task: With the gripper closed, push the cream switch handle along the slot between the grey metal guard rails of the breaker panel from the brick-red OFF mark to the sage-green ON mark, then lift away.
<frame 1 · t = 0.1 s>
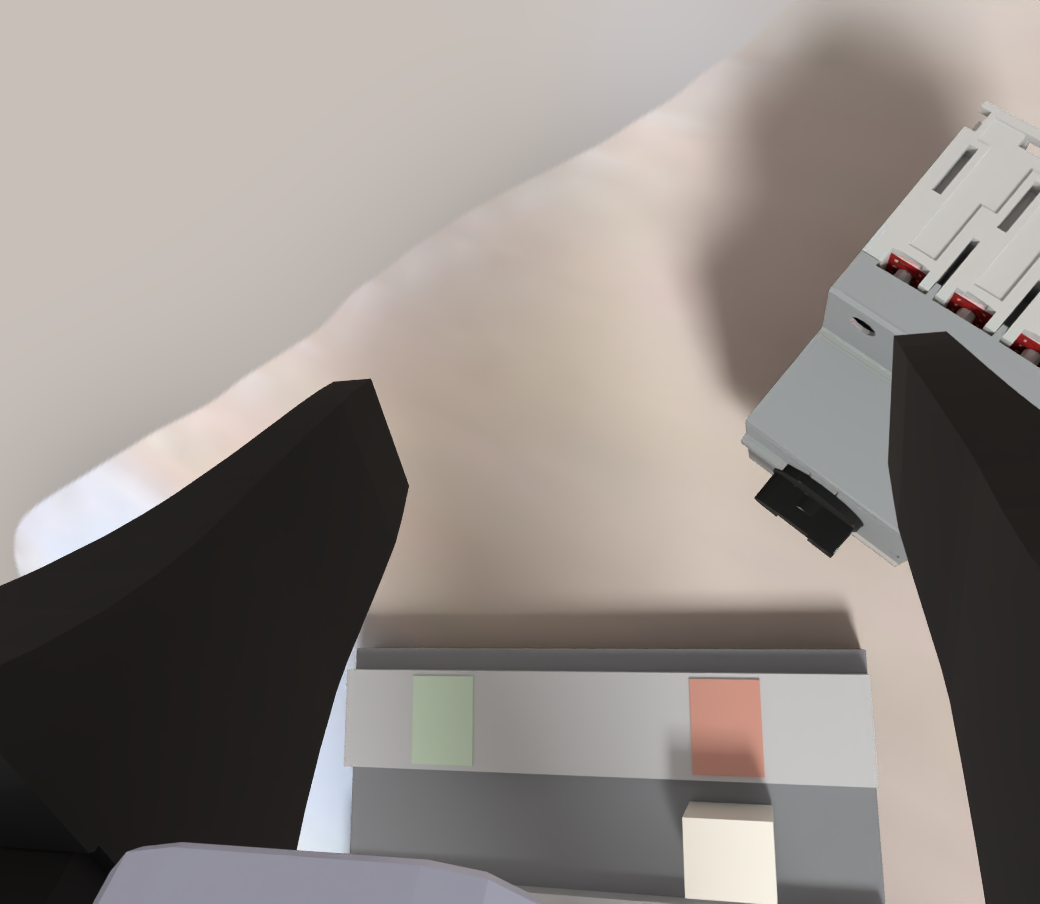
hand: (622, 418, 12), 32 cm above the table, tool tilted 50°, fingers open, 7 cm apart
circuit breaker: (888, 432, 42), on the table
breaker panel: (603, 822, 42), on the table
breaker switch: (730, 849, 37), point 4 cm above the table, slide at 0.0 cm
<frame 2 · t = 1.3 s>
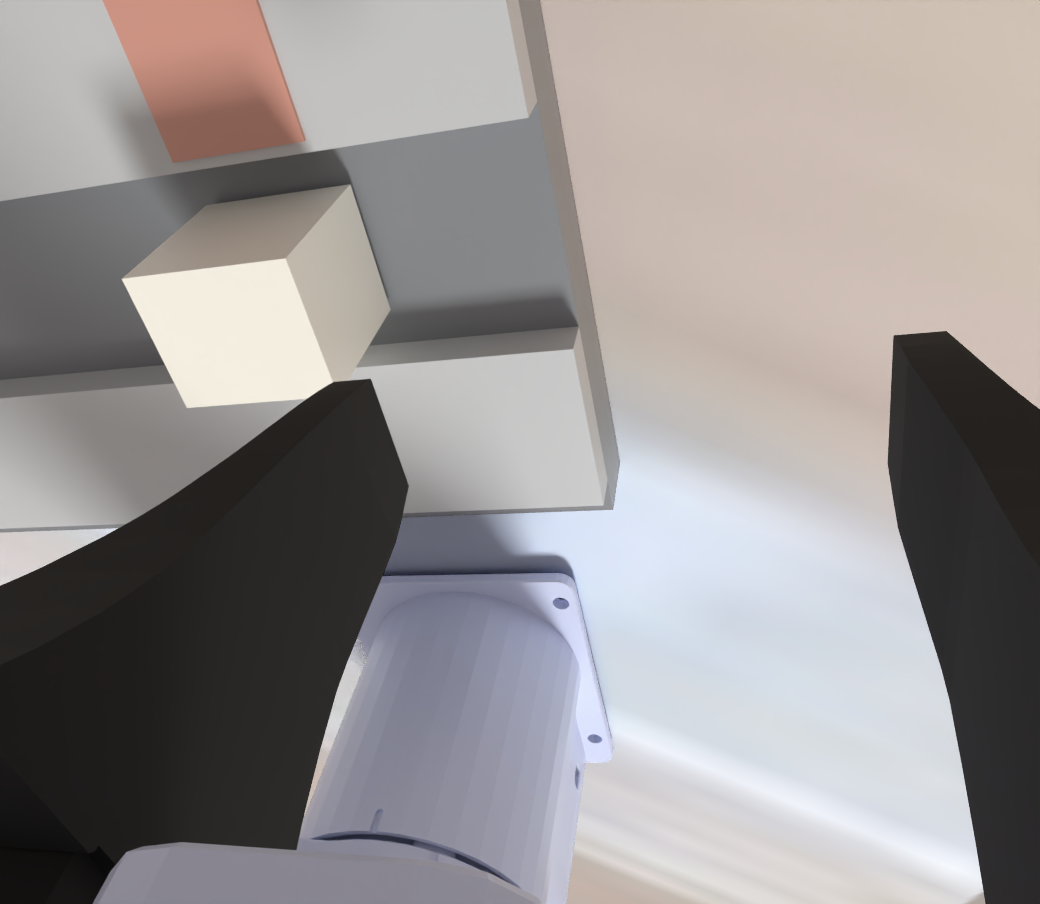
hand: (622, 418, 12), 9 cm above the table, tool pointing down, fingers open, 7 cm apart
breaker panel: (126, 247, 23), on the table
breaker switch: (268, 295, 19), point 4 cm above the table, slide at 0.0 cm
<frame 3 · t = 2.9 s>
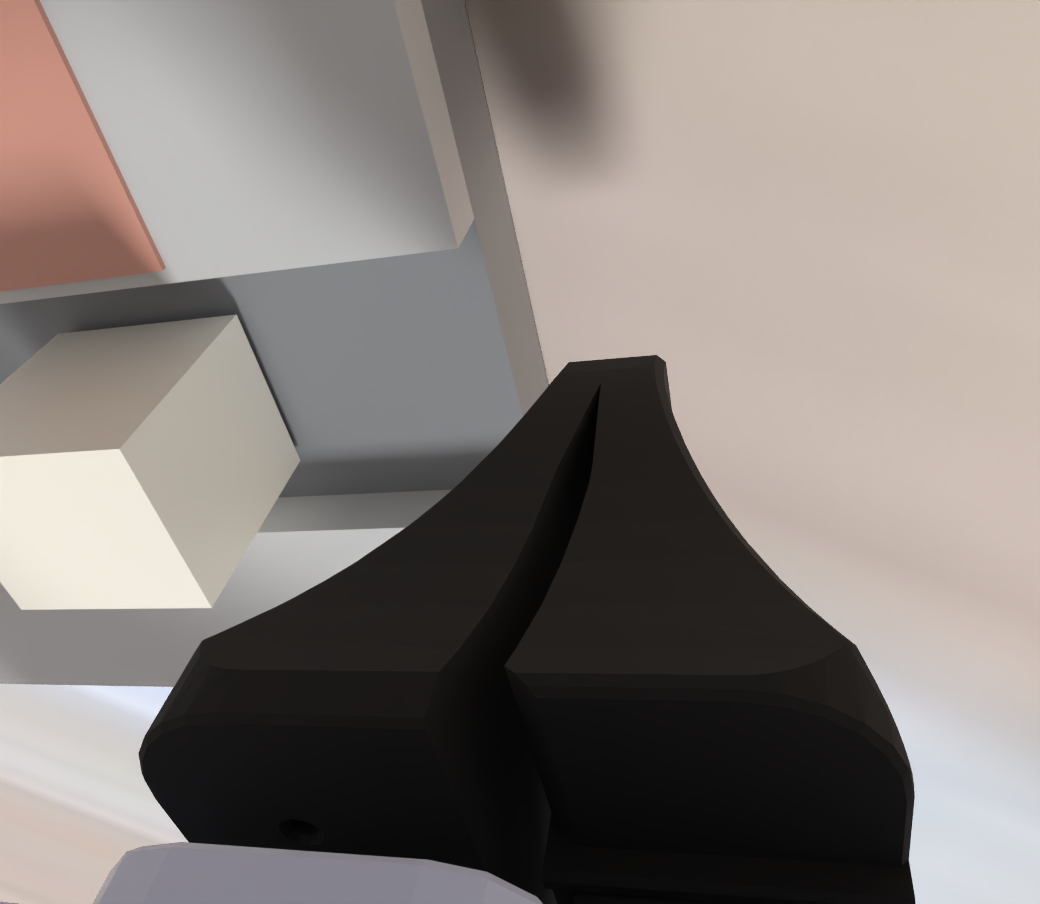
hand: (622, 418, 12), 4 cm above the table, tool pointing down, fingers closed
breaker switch: (129, 461, 14), point 4 cm above the table, slide at 0.0 cm
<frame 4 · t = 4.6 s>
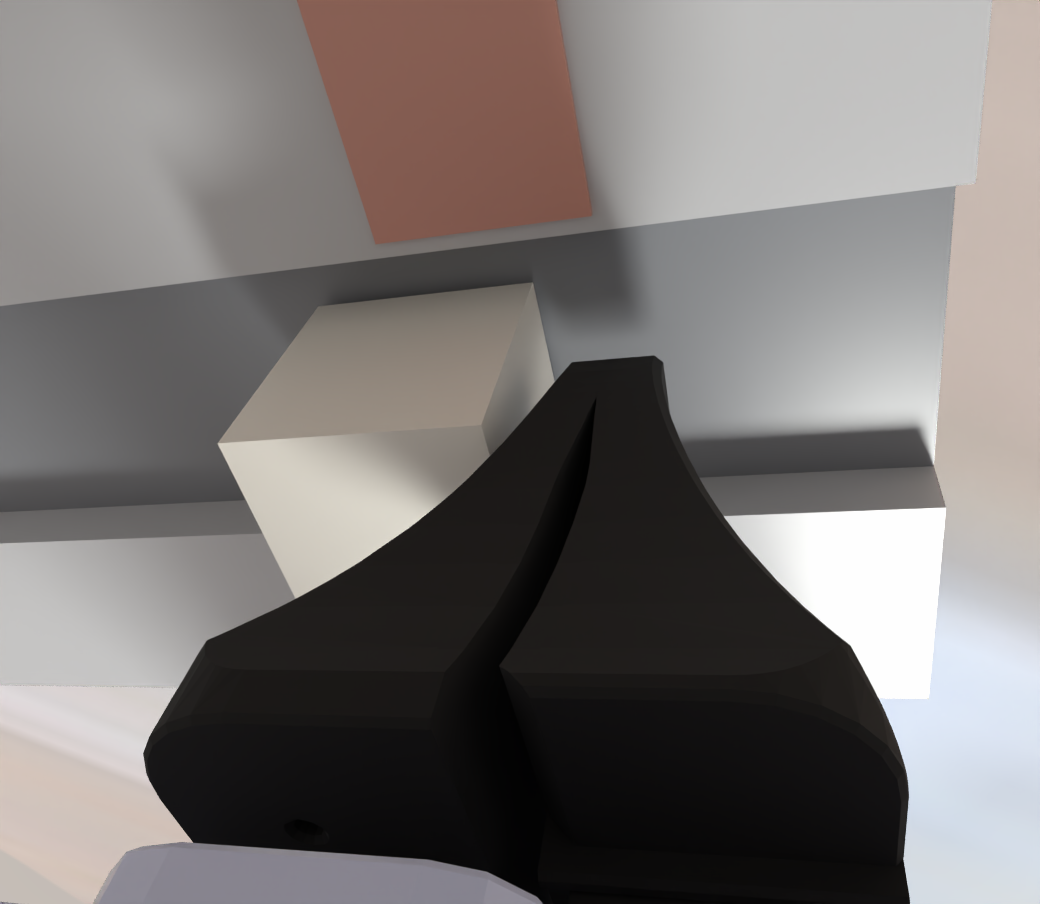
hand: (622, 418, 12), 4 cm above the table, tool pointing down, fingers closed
breaker panel: (253, 335, 17), on the table
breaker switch: (417, 444, 13), point 4 cm above the table, slide at 1.4 cm, touching gripper
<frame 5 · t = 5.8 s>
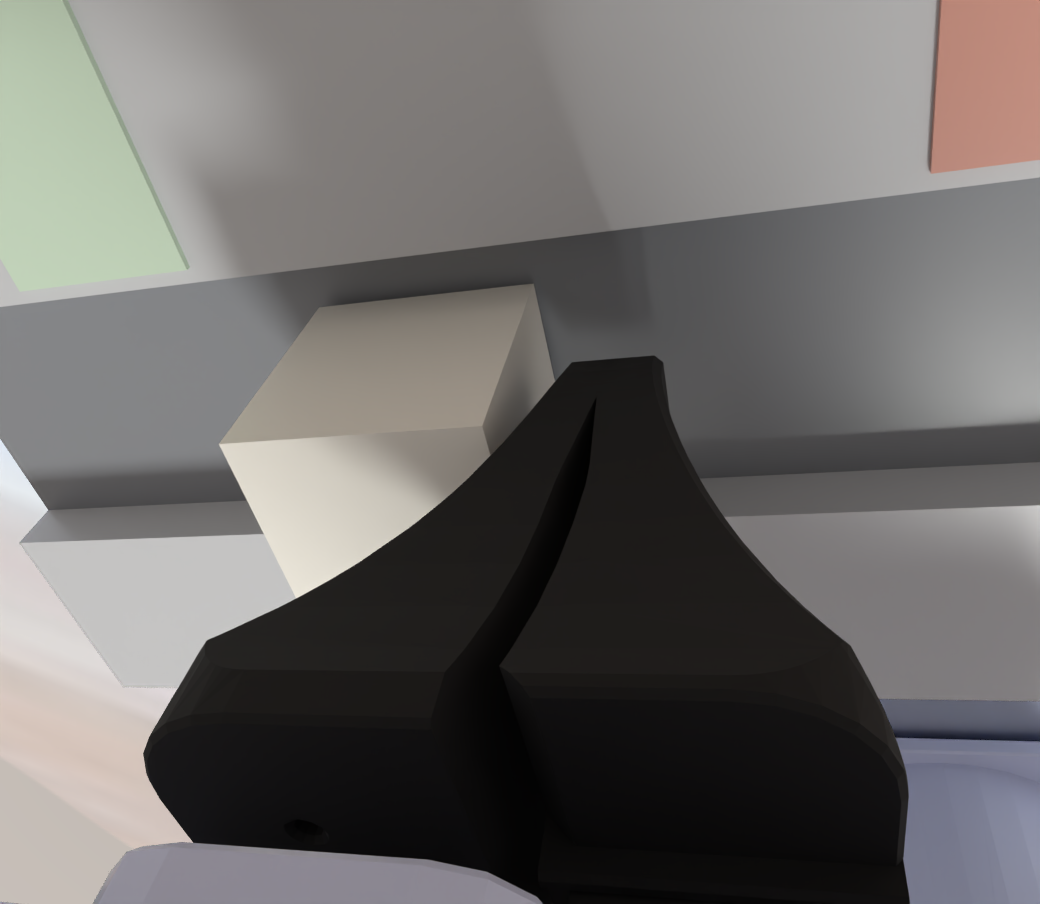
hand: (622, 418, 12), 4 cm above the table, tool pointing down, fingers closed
breaker panel: (609, 298, 15), on the table
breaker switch: (417, 445, 13), point 4 cm above the table, slide at 8.4 cm, touching gripper
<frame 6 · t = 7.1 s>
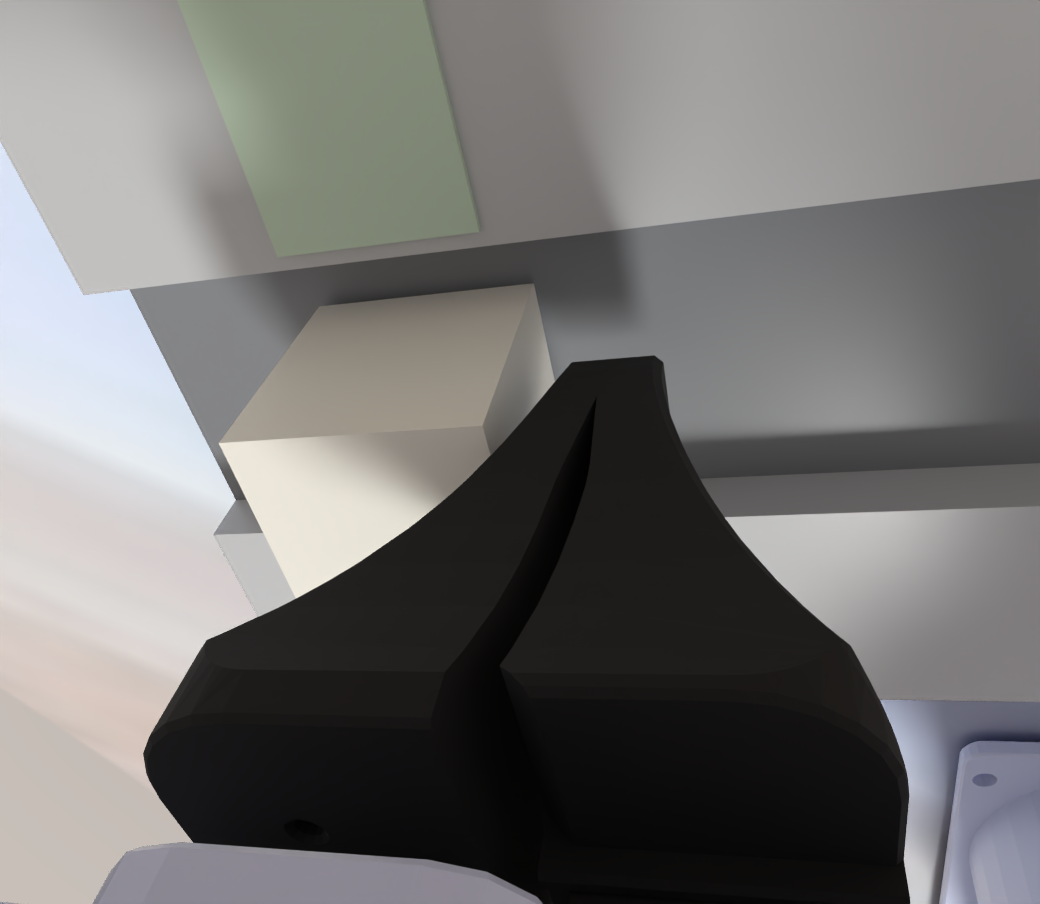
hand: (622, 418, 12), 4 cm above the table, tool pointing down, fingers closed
breaker panel: (884, 270, 14), on the table
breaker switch: (417, 444, 13), point 4 cm above the table, slide at 12.9 cm, touching gripper
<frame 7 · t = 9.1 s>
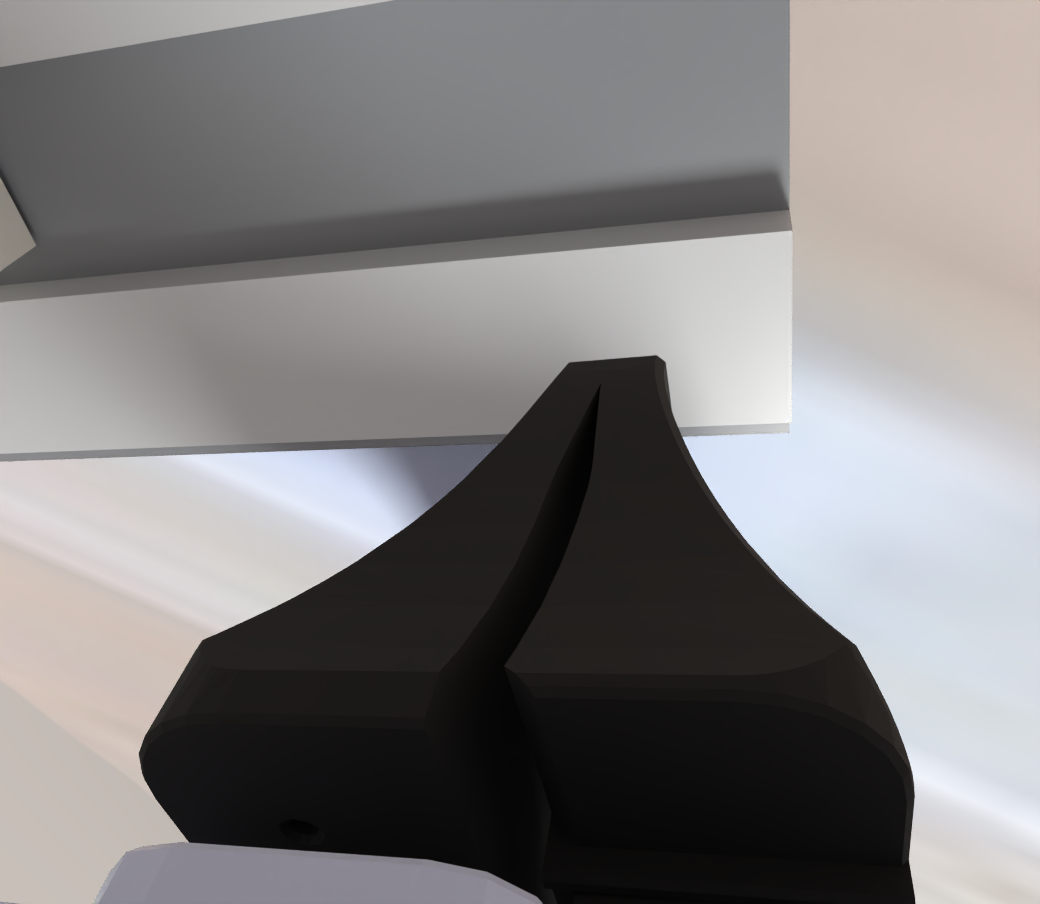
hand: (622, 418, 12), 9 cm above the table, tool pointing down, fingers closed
breaker panel: (248, 125, 21), on the table
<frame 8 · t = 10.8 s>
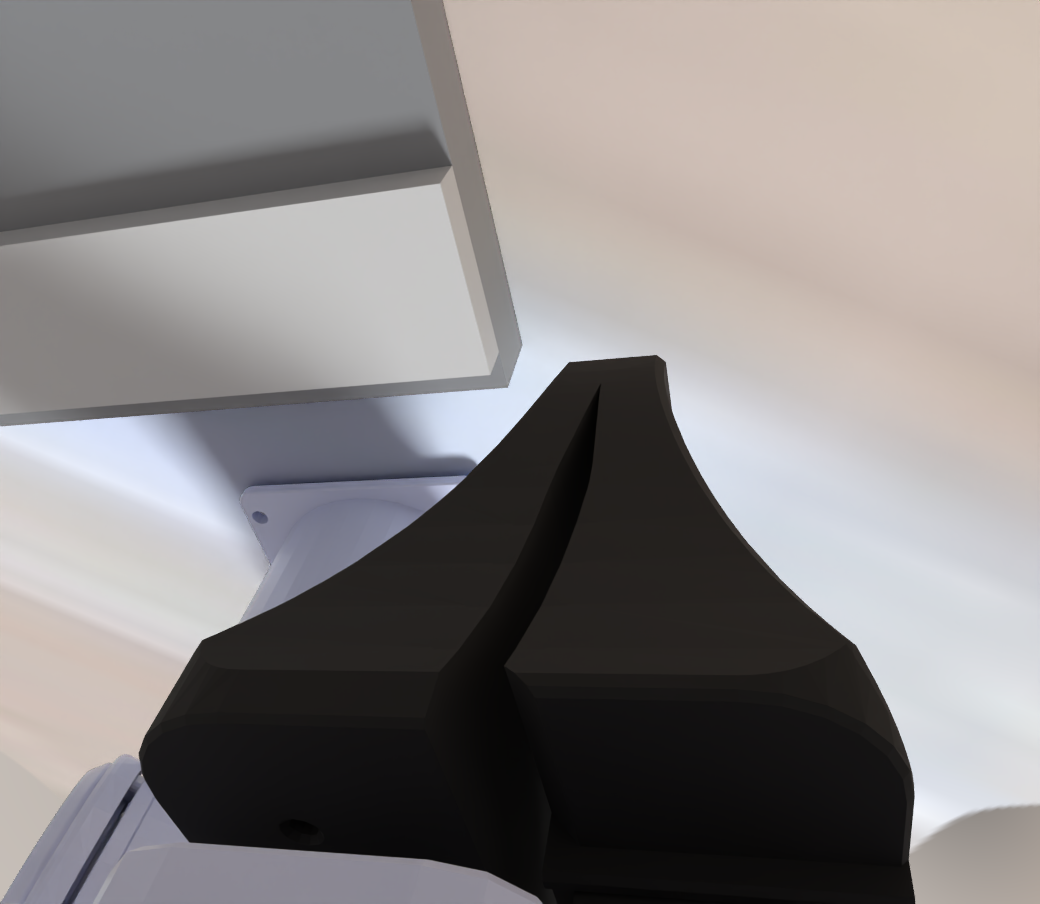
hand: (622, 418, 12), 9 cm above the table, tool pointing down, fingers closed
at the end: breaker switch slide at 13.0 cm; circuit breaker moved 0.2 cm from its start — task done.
